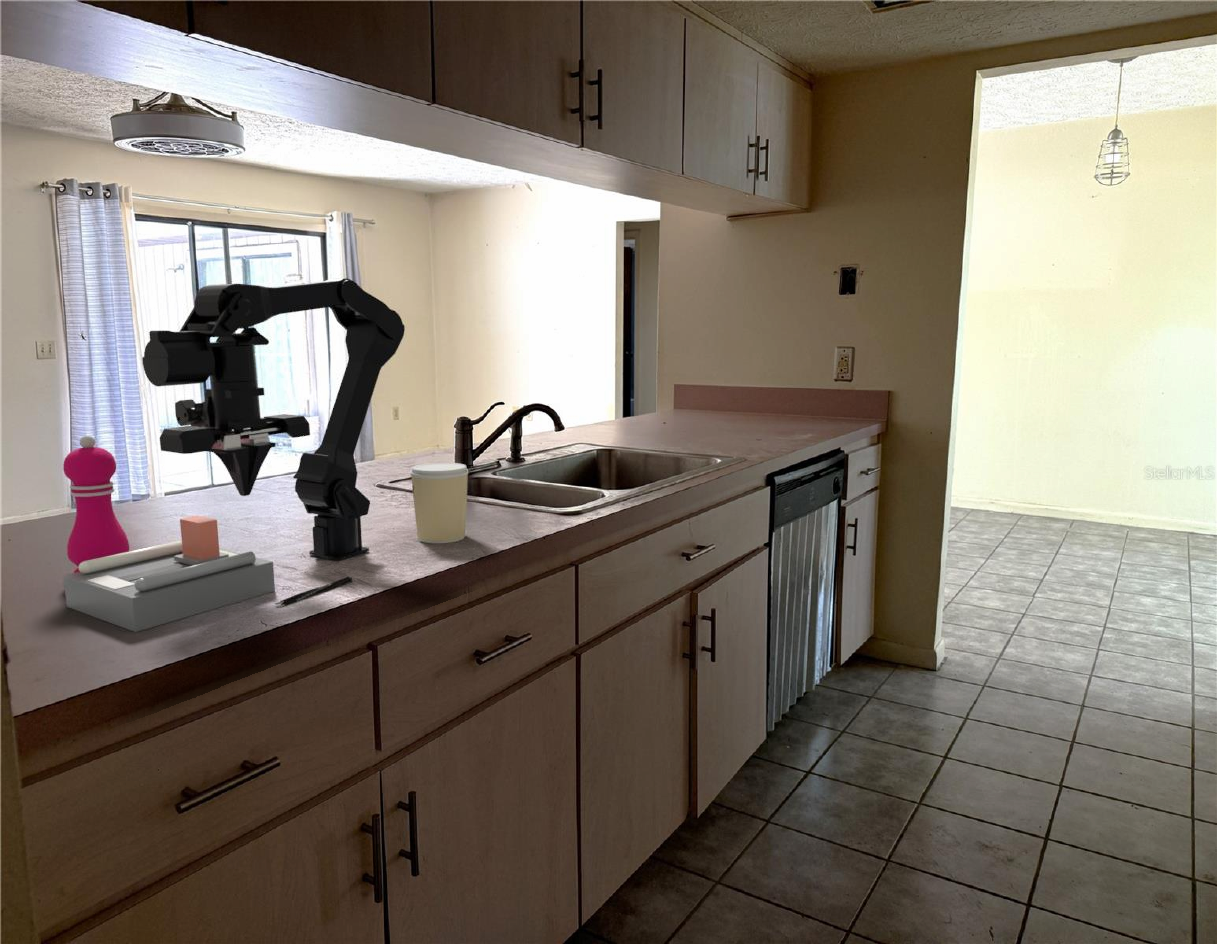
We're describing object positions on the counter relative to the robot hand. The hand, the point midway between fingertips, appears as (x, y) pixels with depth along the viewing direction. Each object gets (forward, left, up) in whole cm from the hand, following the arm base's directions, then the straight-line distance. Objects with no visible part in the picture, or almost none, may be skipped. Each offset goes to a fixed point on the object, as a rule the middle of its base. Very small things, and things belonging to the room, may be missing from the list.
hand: (245, 495), depth 112 cm
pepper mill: (+12, -16, -12) cm, 23 cm away
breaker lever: (+7, 0, -8) cm, 10 cm away
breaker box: (+11, 0, -12) cm, 16 cm away
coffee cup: (-31, +6, -12) cm, 34 cm away
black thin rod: (0, +13, -12) cm, 18 cm away
